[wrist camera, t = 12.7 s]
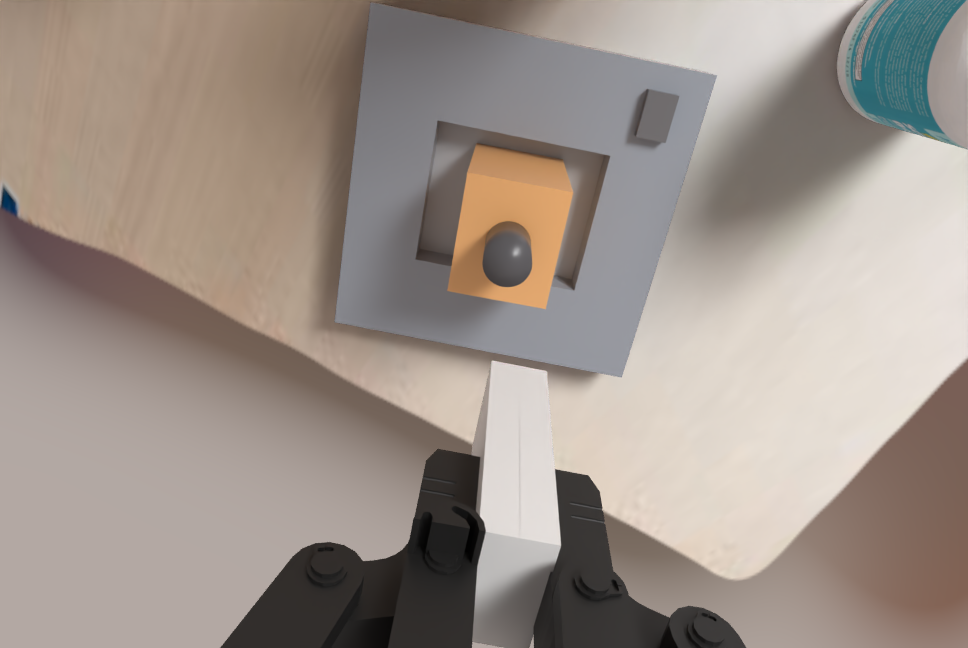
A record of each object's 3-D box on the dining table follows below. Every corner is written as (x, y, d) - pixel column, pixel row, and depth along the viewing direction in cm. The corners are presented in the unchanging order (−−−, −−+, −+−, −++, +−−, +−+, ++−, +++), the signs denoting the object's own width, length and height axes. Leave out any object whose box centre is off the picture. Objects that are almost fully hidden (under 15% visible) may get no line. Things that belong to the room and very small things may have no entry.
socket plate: (379, 3, 37) (368, 2, 34) (704, 72, 38) (720, 76, 35) (343, 306, 44) (332, 326, 41) (616, 359, 45) (622, 382, 42)
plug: (476, 143, 39) (462, 187, 29) (562, 159, 39) (578, 209, 29) (459, 242, 41) (441, 315, 31) (540, 257, 42) (548, 334, 32)
